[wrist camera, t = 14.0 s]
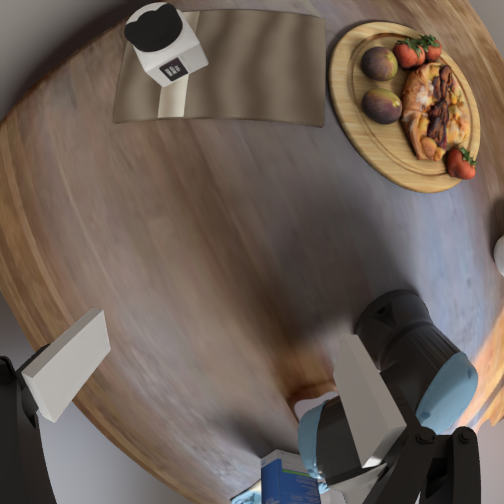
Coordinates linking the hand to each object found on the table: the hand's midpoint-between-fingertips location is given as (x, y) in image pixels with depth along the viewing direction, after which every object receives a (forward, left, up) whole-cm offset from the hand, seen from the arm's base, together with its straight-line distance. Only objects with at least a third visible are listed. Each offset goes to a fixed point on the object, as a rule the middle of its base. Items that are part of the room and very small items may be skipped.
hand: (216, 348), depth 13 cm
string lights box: (-15, +59, -28) cm, 67 cm away
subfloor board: (+6, -27, -28) cm, 40 cm away
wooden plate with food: (-27, -26, -29) cm, 47 cm away
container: (+12, -27, -27) cm, 40 cm away
